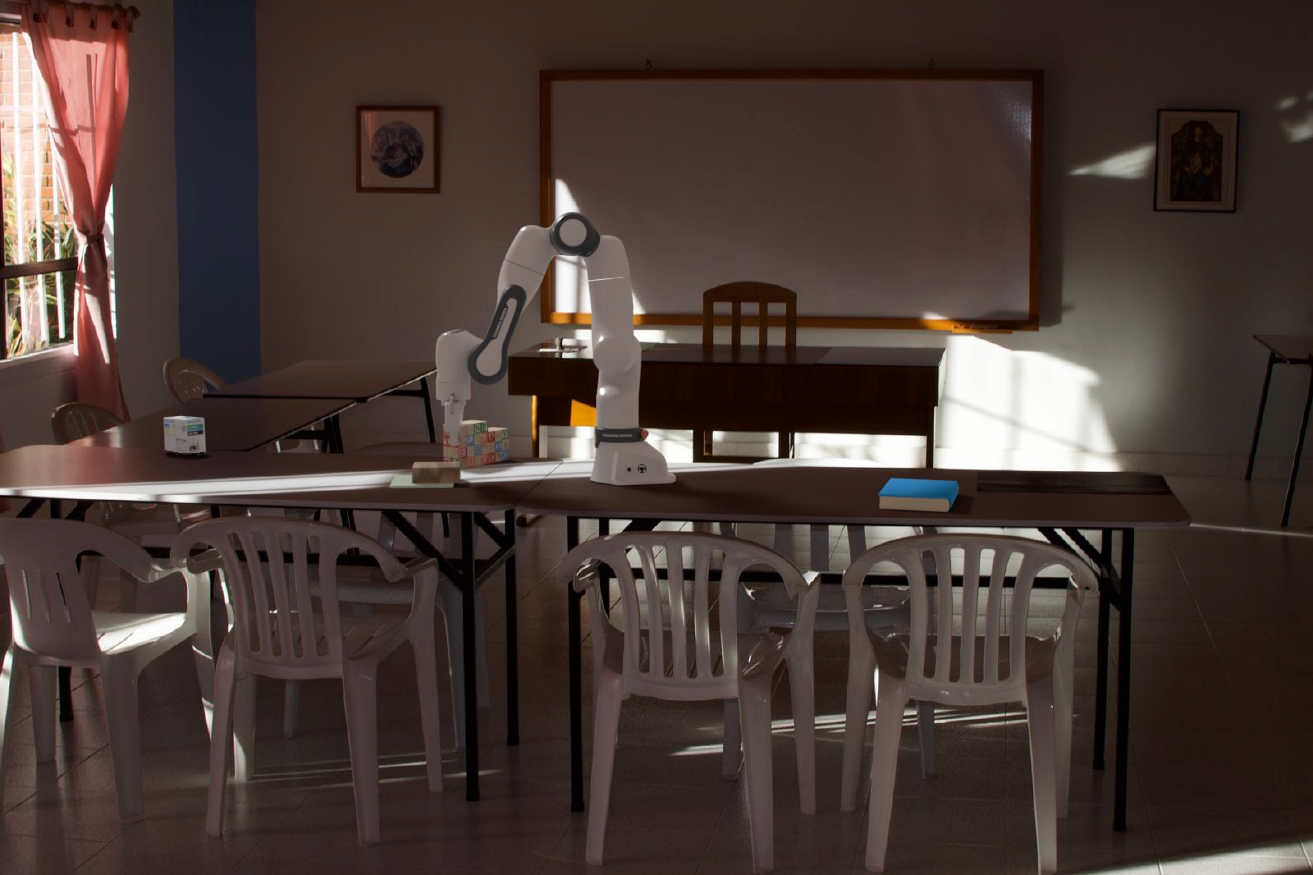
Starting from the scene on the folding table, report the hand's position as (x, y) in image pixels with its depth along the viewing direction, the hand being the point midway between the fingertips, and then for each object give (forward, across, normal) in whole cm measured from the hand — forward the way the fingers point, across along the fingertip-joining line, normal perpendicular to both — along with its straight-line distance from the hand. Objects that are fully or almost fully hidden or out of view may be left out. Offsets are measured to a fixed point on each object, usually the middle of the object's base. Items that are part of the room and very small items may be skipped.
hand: (454, 445), depth 380 cm
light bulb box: (+10, +59, +82) cm, 101 cm away
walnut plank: (+7, 0, -1) cm, 7 cm away
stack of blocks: (+10, +33, -5) cm, 35 cm away
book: (+10, -38, -114) cm, 120 cm away
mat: (+10, 0, +8) cm, 12 cm away
